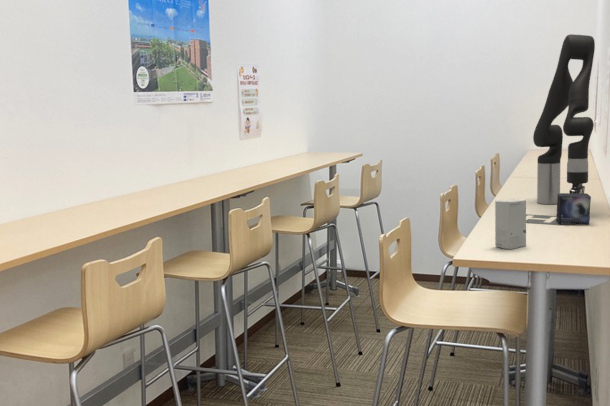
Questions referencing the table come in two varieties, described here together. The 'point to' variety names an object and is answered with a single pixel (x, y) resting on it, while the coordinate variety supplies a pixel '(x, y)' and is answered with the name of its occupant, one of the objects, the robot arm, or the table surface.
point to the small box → (573, 208)
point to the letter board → (541, 219)
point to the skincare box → (510, 223)
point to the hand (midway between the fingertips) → (576, 214)
